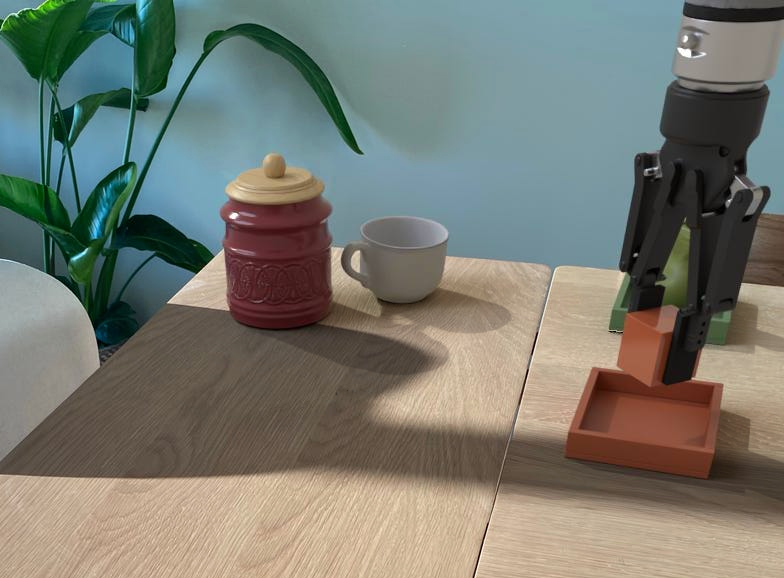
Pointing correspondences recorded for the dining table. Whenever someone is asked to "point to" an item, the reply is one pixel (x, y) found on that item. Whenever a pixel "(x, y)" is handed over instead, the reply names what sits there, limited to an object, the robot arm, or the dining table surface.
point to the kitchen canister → (277, 246)
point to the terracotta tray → (646, 423)
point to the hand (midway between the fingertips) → (655, 368)
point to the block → (648, 344)
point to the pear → (677, 271)
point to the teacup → (399, 257)
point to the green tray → (621, 305)
